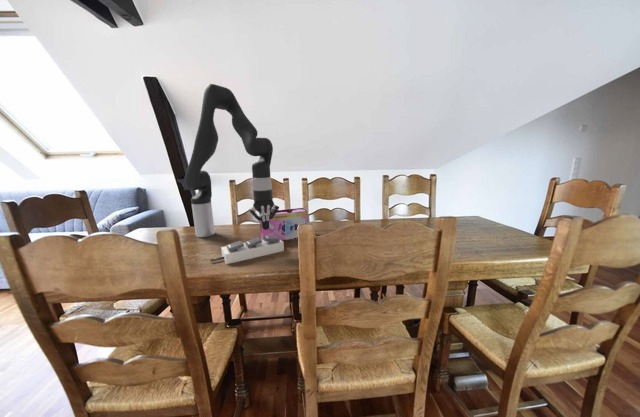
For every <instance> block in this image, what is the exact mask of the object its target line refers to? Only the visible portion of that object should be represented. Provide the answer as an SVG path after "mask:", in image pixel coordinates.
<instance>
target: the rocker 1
mask: <svg viewBox="0 0 640 417" xmlns="http://www.w3.org/2000/svg"><path fill="white" fill-rule="evenodd" d="M243 243H244V242H243V241H242V240H238V241H235V242H231V243H228V244H226V245H225V246H226V248H227V249H228V251H229V252H230V251H233V250H236V249H238V248H241V247H244V244H243Z"/></svg>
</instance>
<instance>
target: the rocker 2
mask: <svg viewBox="0 0 640 417" xmlns="http://www.w3.org/2000/svg"><path fill="white" fill-rule="evenodd" d="M261 239H262V238H260V237H259V236H256V237H254V238H251V239H249V240H246V241H245V242H244V243H245V245H246V246H247V247H248V248H250V247H252V246H255V245H257V244H260V243H262V240H261Z"/></svg>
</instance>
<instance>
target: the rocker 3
mask: <svg viewBox="0 0 640 417" xmlns="http://www.w3.org/2000/svg"><path fill="white" fill-rule="evenodd" d="M263 239H264V240H265V241H266V242H280V239H279V238H278V237H277V236H263Z"/></svg>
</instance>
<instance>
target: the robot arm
mask: <svg viewBox="0 0 640 417" xmlns="http://www.w3.org/2000/svg"><path fill="white" fill-rule="evenodd" d="M201 105H202V106H201V113H200V119H199V124H198V129H197V132H196V135H195V140H194V144H193V149H192V152H191V158H190V161H189V163H188V166H187V169H186V171H185V173H184V174H185V175H184V182H183V183H184V187H185V188H186V189H187V190H189V191H197V193H196V194H195V195H193V196H192V197H191V199H190V202H191V210H192V217H193V224H194V233H195V236H196V237H197V238H207V237H211V236H214V235H215V234H216V231H215V222H214V214H213V206H212V196H213V194H212V193H213V192H212V180H211V176H210V174H209V172H207V170H206V171H205V170H202V169H203V167H204V166H205V164H206V163H207V162H208V161H209V160H210V159H211V158H212V156H213V155H214V154H215V152H216V151H217V150H216V149H217V147H218V146H217V145H218V143H219V134H218V131H217V128H216V125H215V122H214V117H215V110H216V109H218V110H222V111H223V110H224V111H226V112H228V113H229V115H231V123H232V128H233V129H234V131H235V133H237V135H238V136H239V137H240V139H241V142H242V144H243V147H244V150H245V151H246V153H247V154H248V155H250V157H251V156H252V157H259V158H258V161H257V162H254V163H252V164H251V174H252V192H253V204H252V205H253V206H252V207H251V208H249V209H248V213H250V214H251V215H252V216H253V217H254V219H256V220H257V221H258V222H259V221H261V224H262V228H263V229H264V230H267V229H268V228H269V220H270V219H273V217H274V216H275V214H276V212H277V211H278V210H280V206H278V205H276V204H275V203H274V201H273V199H274V198H273V185H272V178H271V163H272V158H273V152H274V151H273V150H274V148H273V143H272V141H271V140H270V139H269V138H267V137H258V130H257V128H256V127H255V125H253V123H252V122H251V120H249V118H248V117H247V116H246V114H245V113H244V110H243V109H242V107H241V105H240V103H239V102H238V100H237V98H236V96H235V93H233V92H232V90H231V89H229V88H227V87H225V86H222V85H217V84H215V83H209V84H207V85H206V87H205V89H204V92H203V97H202V104H201ZM256 211H257V213H258V214H257V213H256ZM270 211H271V213H270ZM259 214H260V217H259Z"/></svg>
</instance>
